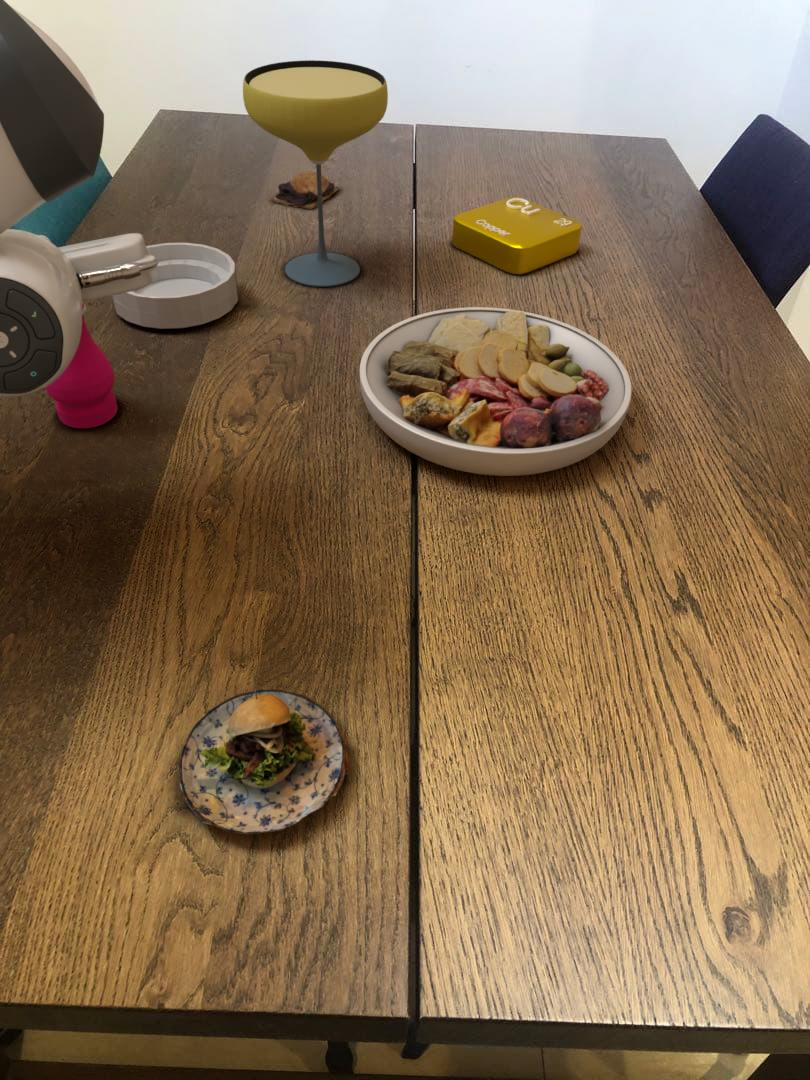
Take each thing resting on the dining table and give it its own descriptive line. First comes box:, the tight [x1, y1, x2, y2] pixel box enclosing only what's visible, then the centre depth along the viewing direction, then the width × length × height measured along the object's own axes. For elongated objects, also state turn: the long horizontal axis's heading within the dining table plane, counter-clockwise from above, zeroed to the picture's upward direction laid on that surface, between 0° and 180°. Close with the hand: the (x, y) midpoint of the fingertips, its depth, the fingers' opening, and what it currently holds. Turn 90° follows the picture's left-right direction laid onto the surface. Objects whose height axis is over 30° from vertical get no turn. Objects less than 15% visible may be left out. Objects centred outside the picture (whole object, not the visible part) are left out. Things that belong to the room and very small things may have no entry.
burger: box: [178, 676, 349, 835], centre depth 57 cm, size 12×12×8 cm
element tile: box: [451, 195, 583, 276], centre depth 125 cm, size 15×15×5 cm
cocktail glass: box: [242, 59, 389, 288], centre depth 110 cm, size 18×18×25 cm
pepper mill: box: [37, 234, 118, 429], centre depth 84 cm, size 7×7×20 cm
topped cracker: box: [272, 170, 339, 210], centre depth 138 cm, size 11×8×4 cm
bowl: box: [359, 306, 633, 477], centre depth 91 cm, size 30×30×8 cm
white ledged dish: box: [110, 242, 239, 330], centre depth 108 cm, size 16×16×5 cm
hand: (29, 269), depth 72 cm, fingers open, 8 cm apart
